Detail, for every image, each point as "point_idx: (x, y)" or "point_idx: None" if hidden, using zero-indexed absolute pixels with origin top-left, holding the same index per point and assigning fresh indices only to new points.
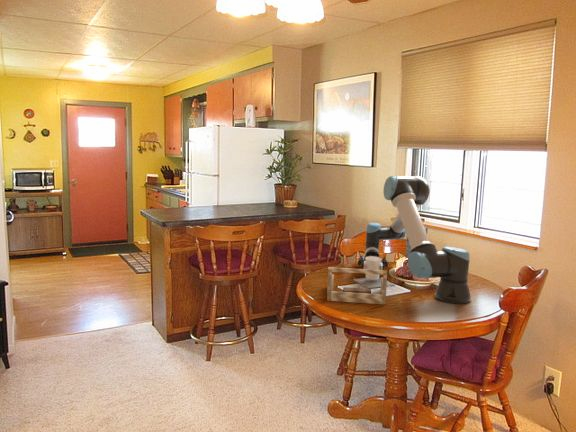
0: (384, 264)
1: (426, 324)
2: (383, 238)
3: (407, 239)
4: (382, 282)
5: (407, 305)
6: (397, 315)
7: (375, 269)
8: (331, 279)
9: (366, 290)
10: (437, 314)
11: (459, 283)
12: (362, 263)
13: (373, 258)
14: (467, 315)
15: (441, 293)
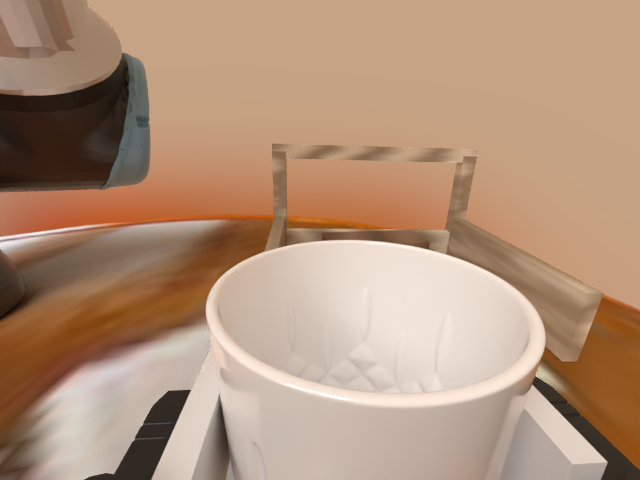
0: (119, 466)
1: (209, 216)
2: None
3: None
4: (275, 248)
5: (205, 258)
6: (257, 228)
7: (313, 344)
8: (453, 190)
9: (340, 234)
10: (149, 236)
11: None
12: (550, 401)
13: (396, 435)
14: (63, 238)
15: (11, 263)
